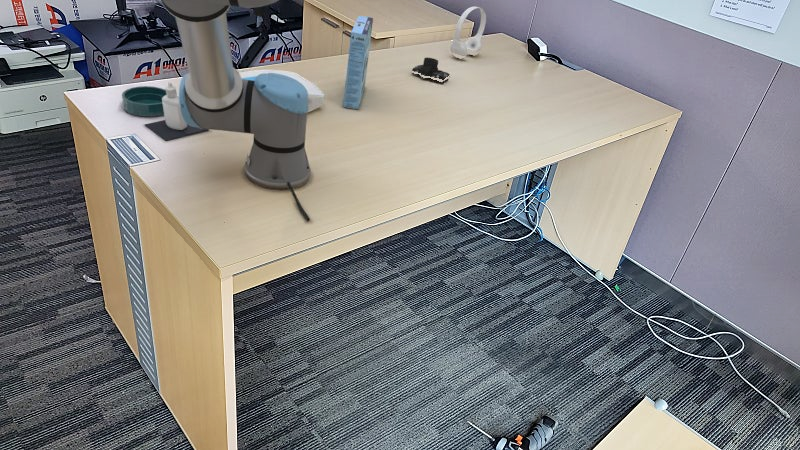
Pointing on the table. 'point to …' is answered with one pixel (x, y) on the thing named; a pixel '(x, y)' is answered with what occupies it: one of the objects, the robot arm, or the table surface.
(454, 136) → the table surface
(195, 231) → the table surface
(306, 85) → the document scanner
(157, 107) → the bowl
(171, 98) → the eye dropper bottle
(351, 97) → the blue cardboard box
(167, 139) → the napkin
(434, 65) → the film camera
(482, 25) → the headphones
